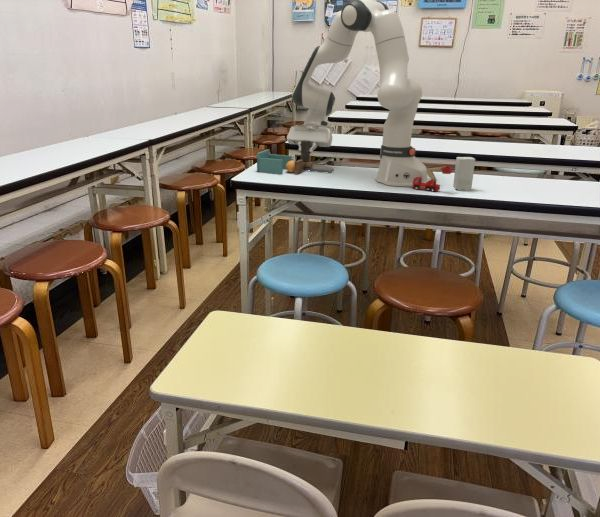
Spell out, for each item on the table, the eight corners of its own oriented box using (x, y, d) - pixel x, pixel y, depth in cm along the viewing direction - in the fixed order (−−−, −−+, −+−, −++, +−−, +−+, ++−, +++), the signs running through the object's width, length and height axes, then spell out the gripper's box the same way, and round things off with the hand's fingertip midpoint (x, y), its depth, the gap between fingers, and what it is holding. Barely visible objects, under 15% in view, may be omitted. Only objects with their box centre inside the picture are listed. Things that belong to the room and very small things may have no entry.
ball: (293, 157, 218) (286, 165, 220) (288, 159, 214) (281, 167, 216) (301, 165, 218) (294, 173, 220) (297, 167, 213) (290, 175, 216)
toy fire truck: (413, 187, 196) (416, 162, 192) (449, 192, 190) (452, 166, 186) (411, 189, 193) (413, 163, 189) (447, 193, 187) (450, 167, 183)
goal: (291, 169, 223) (291, 151, 220) (281, 174, 214) (281, 155, 211) (267, 167, 227) (267, 149, 224) (257, 172, 218) (256, 153, 215)
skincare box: (467, 187, 196) (472, 156, 192) (471, 190, 192) (476, 158, 187) (452, 187, 196) (456, 156, 191) (455, 190, 192) (459, 158, 187)
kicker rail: (333, 171, 222) (333, 168, 221) (330, 173, 217) (330, 170, 217) (297, 167, 227) (297, 165, 227) (293, 169, 223) (293, 167, 223)
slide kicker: (313, 168, 224) (313, 140, 220) (302, 174, 213) (303, 145, 209) (300, 167, 226) (300, 139, 222) (289, 173, 215) (289, 144, 211)
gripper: (289, 120, 226) (281, 145, 221) (333, 123, 219) (325, 149, 214) (293, 129, 231) (285, 154, 227) (336, 132, 225) (328, 158, 220)
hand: (305, 152), depth 220 cm, fingers closed on slide kicker, 3 cm apart
